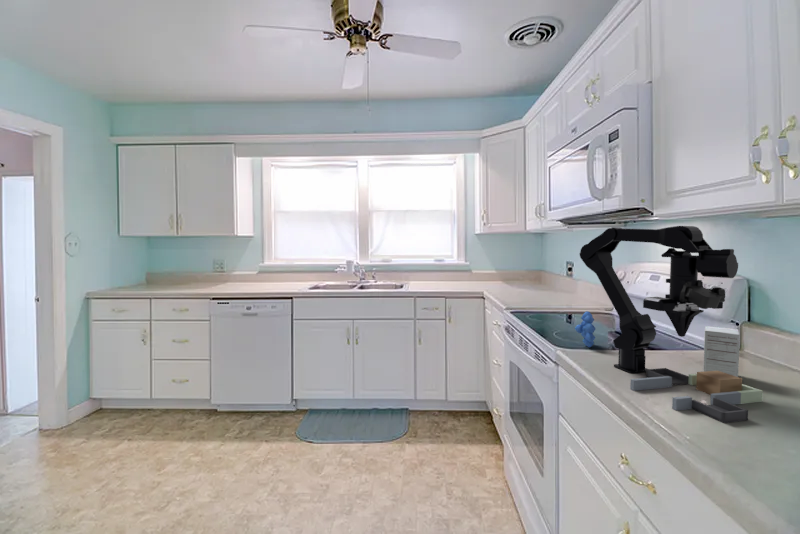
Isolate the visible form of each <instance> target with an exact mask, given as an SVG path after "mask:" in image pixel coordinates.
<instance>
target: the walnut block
mask: <svg viewBox="0 0 800 534" xmlns="http://www.w3.org/2000/svg"><path fill="white" fill-rule="evenodd" d="M703 371H704V370H703ZM703 371H696V374H697V384H696V385H695V387H696V388H695V390H697V391H700V392H701V393H704V394H706V395H709V396H711V394H713V393H723V392H734V391H742V384H743V378H742V377H739V376H738V377H736V376H733V375H730V374H727V373H724V372H721V371H704V372H703Z"/></svg>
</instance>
